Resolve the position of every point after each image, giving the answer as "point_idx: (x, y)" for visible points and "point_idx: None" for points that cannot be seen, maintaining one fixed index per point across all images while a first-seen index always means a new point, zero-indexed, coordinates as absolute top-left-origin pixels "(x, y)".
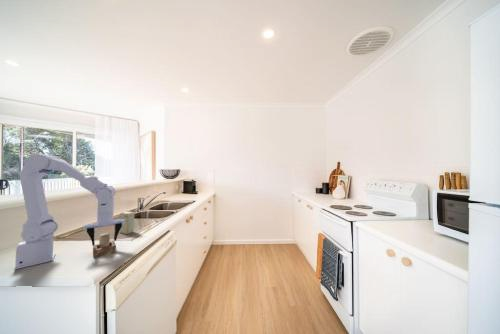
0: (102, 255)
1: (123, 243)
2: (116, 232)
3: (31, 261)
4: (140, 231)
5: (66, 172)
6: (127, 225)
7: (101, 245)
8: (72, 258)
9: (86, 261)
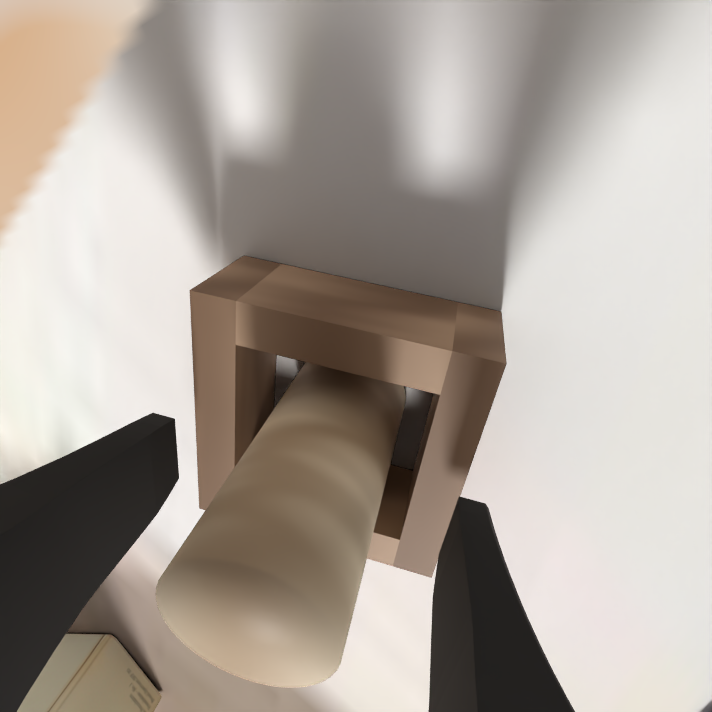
0: (396, 289)
1: None
2: (6, 511)
3: None
4: None
5: None
6: None
7: (366, 439)
8: (657, 510)
9: (612, 256)
